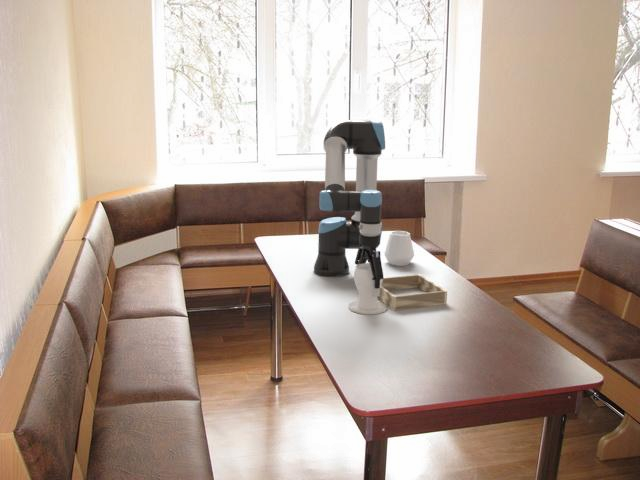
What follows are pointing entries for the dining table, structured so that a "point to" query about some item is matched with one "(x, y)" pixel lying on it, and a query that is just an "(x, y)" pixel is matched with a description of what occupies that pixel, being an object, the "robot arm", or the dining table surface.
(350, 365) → the dining table surface
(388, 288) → the corral
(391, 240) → the cup
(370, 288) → the cup
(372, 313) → the disc
